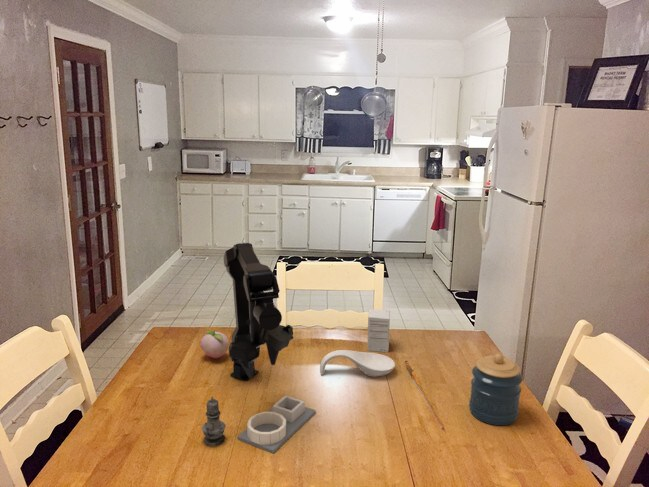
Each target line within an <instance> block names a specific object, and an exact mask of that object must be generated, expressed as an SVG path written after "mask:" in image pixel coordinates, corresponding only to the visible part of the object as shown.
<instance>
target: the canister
mask: <svg viewBox="0 0 649 487" xmlns="http://www.w3.org/2000/svg"><path fill="white" fill-rule="evenodd" d="M471 373H472V375H473V377H472V378H471V381H470V384H471V387H470V388H471V390H470V398H469V401H468V407H469V410H470V411H469V412H470V414H471V415H472V416H473V417H474V418H476V419H477V420H478V421H480V422H483V423H485V424H487V425H488V424H489V425H492V426H493V425H494V426H507V425H511V424H513V423H515V422H516V421H517V418H518V416H519V414H520V413H519V412H520V408H519V405H520V398H521V392H522V387H521V385H520V384H522V382H523V380H524V379H523V375H522V374H521V368H520V366H519V365H518V364H517V363H516V362H514V360H512V359H510V358H508V357H506V356H503V354H501V353H495V354H494V355H493V354H492V355H491V354H490V355H486V356H483V357H481V358H478V359H477V360H476V362H475V365H474V367H472V370H471Z"/></svg>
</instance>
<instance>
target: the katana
mask: <svg viewBox="0 0 649 487" xmlns="http://www.w3.org/2000/svg"><path fill="white" fill-rule="evenodd" d="M404 364H405V366H406V368H407V370H408V371H409V374H410V375H411V379H412V381H413V382H414V384H415V386H416V387H417V388H418V390H419V391H420V394H421V395H422V398H424V401H425V402H426V405H427V406H428V407H429V409H430V411H431V413H432V414H433V416H434V418H435V420H436V422H438V424H439V427H440V428H441V429H443V428H444V425H443V423H442V421H441V420H440V418H439V416H438V414H437V413H436V411H435V409H434V407H433V405H432V404H431V403H430V400H429V399H428V396H427V395H426V394H425V392H424V390H423V388H422V386H421V383H420V382H419V376H418V374H417V373H416V371H415V370H414V369H412V367H411V365H410V363H409V361H408V360H405V361H404Z"/></svg>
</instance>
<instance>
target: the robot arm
mask: <svg viewBox="0 0 649 487" xmlns="http://www.w3.org/2000/svg"><path fill="white" fill-rule="evenodd" d="M223 265H224V267H225V268H226V272H227V274H228V275H229V277H230V278H231V279H232V287H233V288H232V289H233V301H234V315H235V316H234V317H235V328H234V330H233V332H232V334H231V342H230V343H229V345H228V356H229V357H230V360H231V362H233V366H232V368H233V370H232V371H233V372H231V373H230V375H229V376H230V377H233V378H234V379H235V378H236V379H239V380H242V381H245V382H247V381H249V380H250V379H251V380H252V379H253V378H254V376H256V375H257V374H259V370H258V369H255V361H256V360H257V359H258V358H259V357H260V351H261V350H260V349H261V346H264V345H266V350H267V353H268V358H269V362H270V364H271V365H272V366H275V365H276V362H277V358H278V357H279V356H278V355H279V353H280V351H282V350H283V349H285V348H287V347H289V343H290V341H292V340H293V339H294V328H293V326H291V325H290V324H288V325H282V324H281V323H282V320H283V315H282V313H281V311H280V310H279V309H278V307H277V306H276V305H275V304H274V300H275V299H279V298H280V295H279V293H280V292H281V291H280V287H279V283H278V280H277V276H276V275H275V273H274V272H273V270H272V269H271V268H270V267H269V266H268V265H266V264H263V263H261V262H260V259H259V258H258V256H257V255H256V253H255V251H254V248H253V244H252V243H251V242H241V243H236V244H233V246H232V247H231V248H228V249H227V250H225V252H224V255H223Z"/></svg>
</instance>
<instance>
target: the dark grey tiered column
mask: <svg viewBox="0 0 649 487" xmlns="http://www.w3.org/2000/svg"><path fill="white" fill-rule="evenodd" d="M219 407H220V406H219V401H218V399H215V398H214V396H211V397H210V399H209V400H207V402H206V412H205V417H206V422H205V423H203V425H202V426H201V431H202V433H203V435H204V438H203V443H204V445H206V446H209V447H215V446H216V447H217V446H219V445H221V444H223V443H224V442H225V440H226V436H225V435H224V432H225V429H226V428H227V427H226V424H225V422H224V421H222V420H221V419H220V415H221V411H220V409H219Z"/></svg>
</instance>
